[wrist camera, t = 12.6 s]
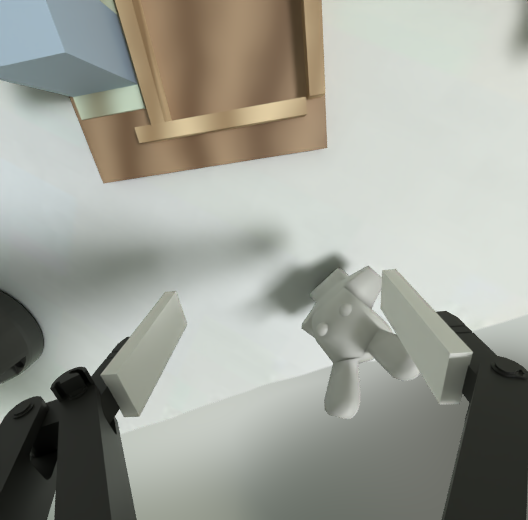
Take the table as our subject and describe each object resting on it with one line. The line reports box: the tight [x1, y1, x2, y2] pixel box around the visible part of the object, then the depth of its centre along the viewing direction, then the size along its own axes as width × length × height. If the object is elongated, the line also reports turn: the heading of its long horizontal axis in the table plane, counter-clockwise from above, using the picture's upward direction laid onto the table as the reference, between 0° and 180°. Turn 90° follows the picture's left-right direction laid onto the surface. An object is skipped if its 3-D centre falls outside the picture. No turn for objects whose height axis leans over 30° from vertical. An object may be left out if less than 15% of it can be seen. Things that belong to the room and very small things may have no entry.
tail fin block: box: [0, 0, 138, 97], centre depth 17 cm, size 6×4×8 cm
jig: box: [69, 0, 327, 183], centre depth 20 cm, size 22×19×3 cm
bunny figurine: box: [302, 266, 420, 419], centre depth 23 cm, size 10×5×15 cm, turn 141°
